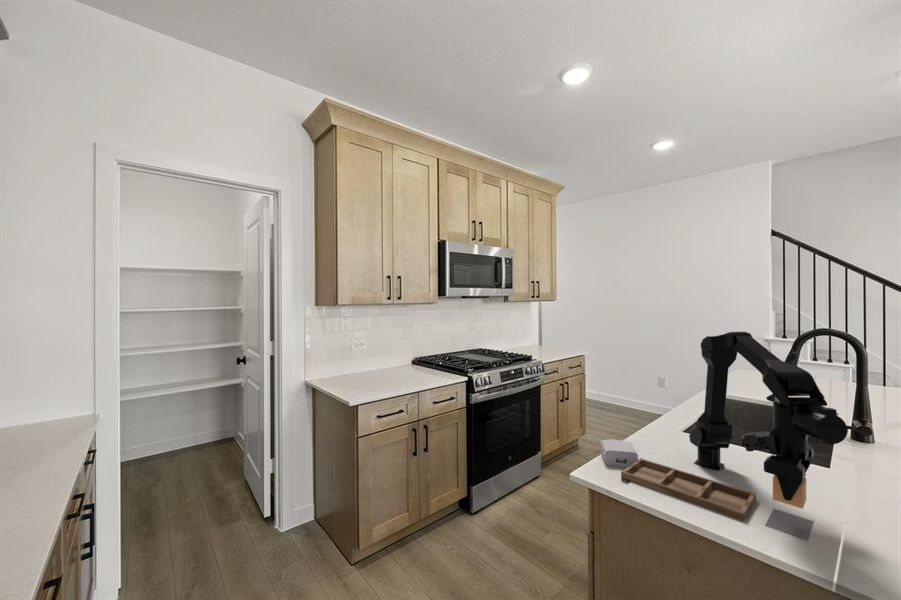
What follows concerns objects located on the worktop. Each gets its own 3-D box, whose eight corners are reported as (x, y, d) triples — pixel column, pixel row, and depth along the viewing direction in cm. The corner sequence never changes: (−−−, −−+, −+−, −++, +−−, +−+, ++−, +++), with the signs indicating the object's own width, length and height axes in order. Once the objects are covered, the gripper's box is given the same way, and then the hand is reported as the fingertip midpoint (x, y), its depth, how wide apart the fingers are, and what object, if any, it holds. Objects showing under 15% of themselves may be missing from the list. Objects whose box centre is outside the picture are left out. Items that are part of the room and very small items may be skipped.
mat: (773, 510, 92) (773, 508, 92) (813, 523, 86) (813, 521, 86) (764, 528, 85) (764, 525, 85) (807, 543, 80) (807, 540, 80)
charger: (626, 448, 130) (637, 468, 115) (597, 446, 132) (605, 465, 117) (626, 434, 129) (637, 452, 115) (597, 432, 132) (605, 450, 117)
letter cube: (776, 491, 89) (777, 469, 89) (806, 500, 85) (806, 477, 85) (772, 499, 86) (772, 476, 86) (802, 508, 82) (803, 485, 82)
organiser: (640, 465, 116) (640, 458, 116) (756, 502, 95) (756, 493, 95) (621, 479, 108) (621, 471, 108) (743, 523, 87) (743, 514, 87)
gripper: (754, 409, 98) (753, 469, 98) (734, 427, 85) (734, 496, 86) (814, 419, 89) (813, 486, 90) (802, 441, 77) (801, 518, 77)
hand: (789, 495), depth 86 cm, fingers closed on letter cube, 5 cm apart
